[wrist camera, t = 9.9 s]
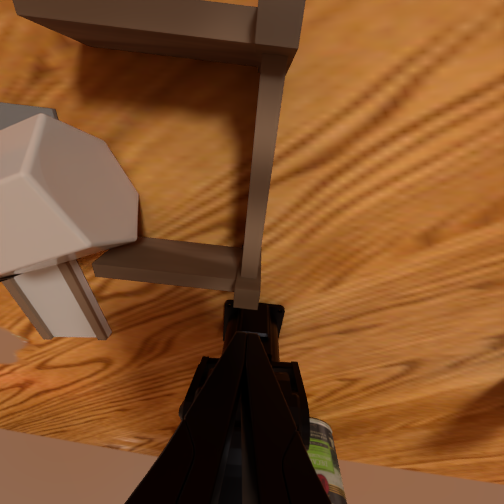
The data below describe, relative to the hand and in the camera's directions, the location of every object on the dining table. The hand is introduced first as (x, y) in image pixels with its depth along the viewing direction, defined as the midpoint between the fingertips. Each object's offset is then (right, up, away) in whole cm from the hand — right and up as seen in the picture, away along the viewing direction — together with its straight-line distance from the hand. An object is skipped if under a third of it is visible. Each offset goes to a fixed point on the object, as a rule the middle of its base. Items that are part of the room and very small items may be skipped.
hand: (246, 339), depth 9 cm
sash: (-21, -2, +17) cm, 28 cm away
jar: (-10, +8, +6) cm, 14 cm away
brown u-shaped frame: (-5, +10, +9) cm, 15 cm away
